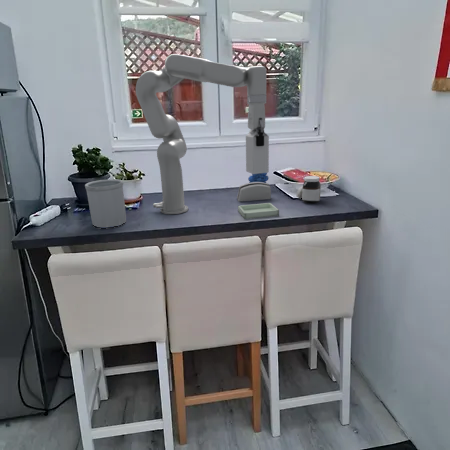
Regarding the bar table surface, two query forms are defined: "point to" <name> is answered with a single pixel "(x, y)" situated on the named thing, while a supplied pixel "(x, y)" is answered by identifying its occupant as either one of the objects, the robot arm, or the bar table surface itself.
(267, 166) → the milk carton
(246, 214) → the tray
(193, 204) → the bar table surface
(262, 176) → the grapes
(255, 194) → the grey piece
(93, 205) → the utensil holder
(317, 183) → the spread jar
